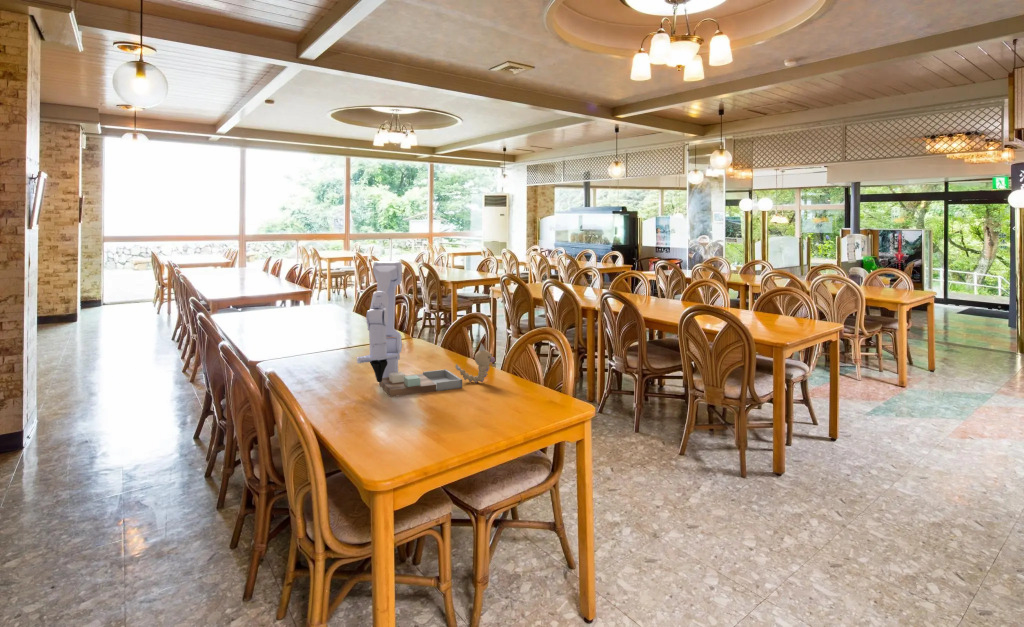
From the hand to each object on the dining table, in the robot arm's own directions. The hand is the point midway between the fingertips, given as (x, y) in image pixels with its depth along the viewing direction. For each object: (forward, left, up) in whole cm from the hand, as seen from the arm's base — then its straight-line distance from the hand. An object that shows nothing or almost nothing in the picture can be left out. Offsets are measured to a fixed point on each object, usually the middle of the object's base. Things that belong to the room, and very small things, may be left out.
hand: (379, 381), depth 204 cm
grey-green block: (+7, +10, -1) cm, 12 cm away
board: (+2, +9, -3) cm, 10 cm away
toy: (+6, +34, -3) cm, 34 cm away
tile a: (0, +6, -1) cm, 6 cm away
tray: (+2, +22, -3) cm, 23 cm away
